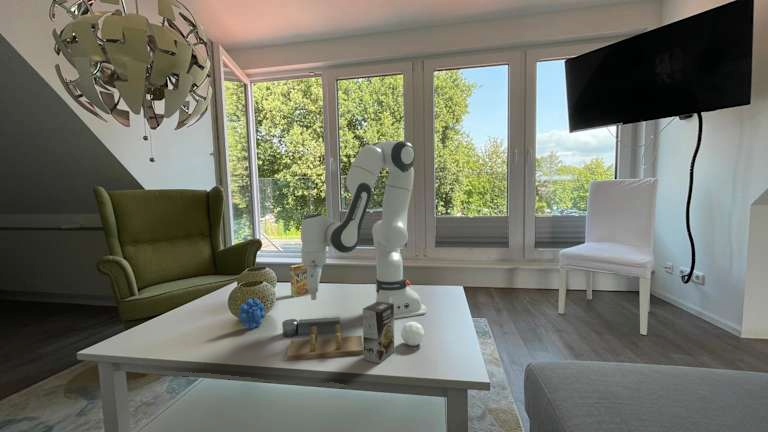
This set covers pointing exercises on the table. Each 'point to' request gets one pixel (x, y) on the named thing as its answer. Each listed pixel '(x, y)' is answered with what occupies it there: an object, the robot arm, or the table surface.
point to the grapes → (251, 313)
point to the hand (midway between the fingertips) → (314, 295)
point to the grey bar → (309, 326)
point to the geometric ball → (412, 333)
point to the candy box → (298, 280)
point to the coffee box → (378, 331)
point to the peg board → (325, 346)
